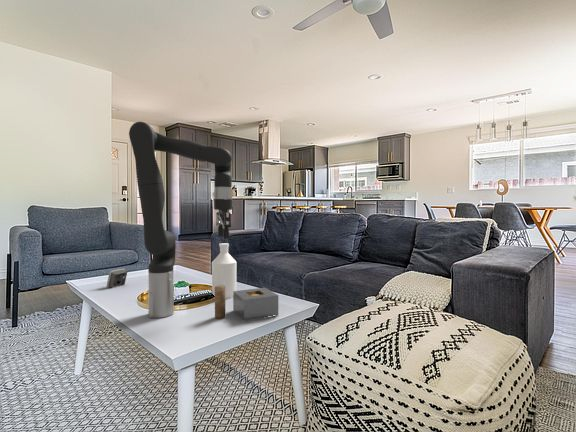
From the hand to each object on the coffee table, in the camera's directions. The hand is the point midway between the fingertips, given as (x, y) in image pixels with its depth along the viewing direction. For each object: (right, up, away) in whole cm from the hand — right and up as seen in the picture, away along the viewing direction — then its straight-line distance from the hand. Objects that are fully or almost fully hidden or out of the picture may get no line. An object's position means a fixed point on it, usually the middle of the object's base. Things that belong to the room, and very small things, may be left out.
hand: (223, 237), depth 135 cm
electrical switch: (-66, -30, +41) cm, 83 cm away
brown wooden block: (+1, -30, -10) cm, 32 cm away
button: (+14, -29, -5) cm, 33 cm away
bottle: (-4, -30, +22) cm, 37 cm away
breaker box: (+14, -30, -5) cm, 33 cm away
